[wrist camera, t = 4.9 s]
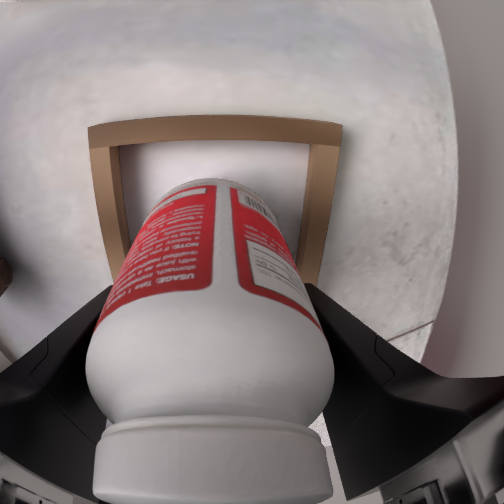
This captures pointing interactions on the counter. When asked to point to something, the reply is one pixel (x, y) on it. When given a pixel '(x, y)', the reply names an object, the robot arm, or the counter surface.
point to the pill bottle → (210, 360)
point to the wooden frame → (217, 128)
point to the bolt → (4, 275)
